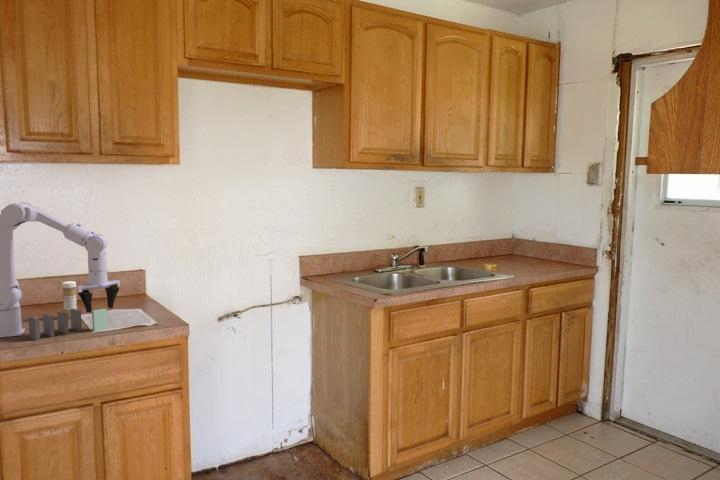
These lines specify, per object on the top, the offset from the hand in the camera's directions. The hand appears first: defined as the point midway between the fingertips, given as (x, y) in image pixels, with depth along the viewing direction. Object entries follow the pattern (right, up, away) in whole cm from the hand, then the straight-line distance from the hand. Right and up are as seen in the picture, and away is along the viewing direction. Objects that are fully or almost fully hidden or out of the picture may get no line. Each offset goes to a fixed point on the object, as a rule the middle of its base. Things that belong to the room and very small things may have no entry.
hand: (99, 309), depth 191 cm
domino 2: (-14, -8, -7) cm, 17 cm away
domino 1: (-16, -8, -10) cm, 21 cm away
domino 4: (-8, -7, +1) cm, 11 cm away
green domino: (0, -7, +1) cm, 7 cm away
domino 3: (-11, -7, -3) cm, 14 cm away
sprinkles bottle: (-19, -5, +18) cm, 27 cm away
